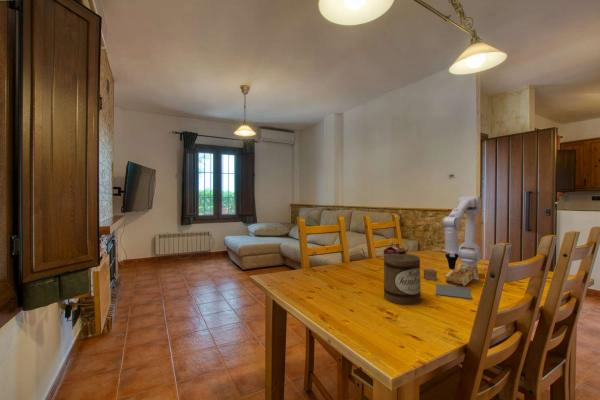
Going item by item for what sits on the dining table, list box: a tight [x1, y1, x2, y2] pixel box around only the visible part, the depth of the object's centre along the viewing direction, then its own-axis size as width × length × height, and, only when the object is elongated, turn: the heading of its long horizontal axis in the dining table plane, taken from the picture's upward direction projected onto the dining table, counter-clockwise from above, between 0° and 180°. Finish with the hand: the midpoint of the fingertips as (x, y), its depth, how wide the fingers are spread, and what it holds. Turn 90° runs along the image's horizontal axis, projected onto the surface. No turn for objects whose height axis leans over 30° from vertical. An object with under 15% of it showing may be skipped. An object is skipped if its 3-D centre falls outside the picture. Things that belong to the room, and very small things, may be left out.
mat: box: [435, 283, 473, 301], centre depth 129 cm, size 16×14×1 cm
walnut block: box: [423, 268, 438, 282], centre depth 149 cm, size 5×5×5 cm
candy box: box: [444, 262, 479, 287], centre depth 142 cm, size 9×4×15 cm
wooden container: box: [383, 247, 422, 306], centre depth 121 cm, size 15×15×22 cm
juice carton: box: [383, 241, 400, 257], centre depth 135 cm, size 7×7×22 cm
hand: (451, 269), depth 137 cm, fingers closed
